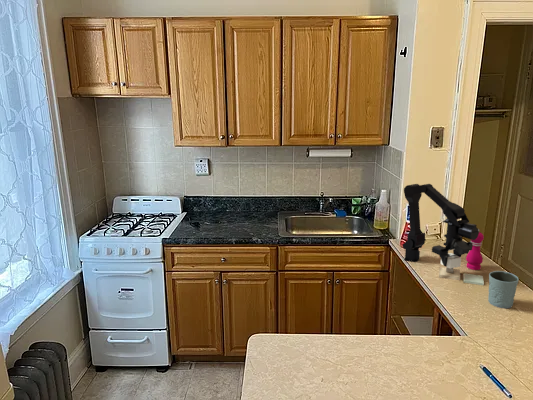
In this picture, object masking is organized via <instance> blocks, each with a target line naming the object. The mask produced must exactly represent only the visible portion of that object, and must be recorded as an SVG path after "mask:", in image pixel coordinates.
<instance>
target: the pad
mask: <svg viewBox="0 0 533 400" xmlns="http://www.w3.org/2000/svg"><path fill="white" fill-rule="evenodd" d="M462 276H463V283H466V284H472V285H478V286H484V284H485V283H484V282H485V281H484V276H483V275H479V274H473V273H472V274H471V273H463V275H462Z"/></svg>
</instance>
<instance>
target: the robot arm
mask: <svg viewBox="0 0 533 400" xmlns="http://www.w3.org/2000/svg"><path fill="white" fill-rule="evenodd" d="M403 193H404V198H405V199H406V201H407V203H408V215H409V216H408V217H409V232H408V234H407V238H406V241H405V242H403V244H402V249H404V250H405V251H404V252H405V253H404V254H405V255H404V261H407V262H414V263H418V262H419V261H420V255H421V251H420V249H422V247H423V246H424V245H425V243H426V241H427V239H426V232H423V231H422V230H421V215H420V214H421V213H420V200H421V197H422V195H423V194H425V195H426V196H427V197H428V199H431V201H433V202H434V204H436V205H437V206H438V207H439V208H440V209H441V210H442V213H443V214H444V215H443V216H445V217H446V218H445V219H444V220H443V221H442V222H443V223H445V224H446V225H447V226H446V233H445V234H443V237H444V238H445V242H443V246H442V245H440V244H438V245H433V246H432V247H431V253H434V254H435V255H438V256H439V257H440V261H441V260H442V263H443V265H442V266H444V268H446V265H447V259H448V256H450V254H449V251H453V252H452V253H453V254H455V255H457V256H459V257H461V258H462V256H463V255H467V254H468V253H469V251H470V250H472V247H473V243H472V242H470V241H471V240H475V239H476V238H477V237H478V234H479V232H480V230H479V231H478V229H479V228H478V227H477V224H474V223H470V220H469V218H468V216H467V214H466V210H465V209H464V208H463V207H462V206H460V205H459V204H457V203H455V202H452V201H450V200H449V199H448V198H447V197H445V196H444V195H443V194H442V193H441V192H440V191H438V190H437V189H436V188H435V187H434V186H433V184H431V183H425V184H419V183H413V184H407V185H406V186H405V187H403ZM463 238H465V239H469V240H470V241H465V240H463Z"/></svg>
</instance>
